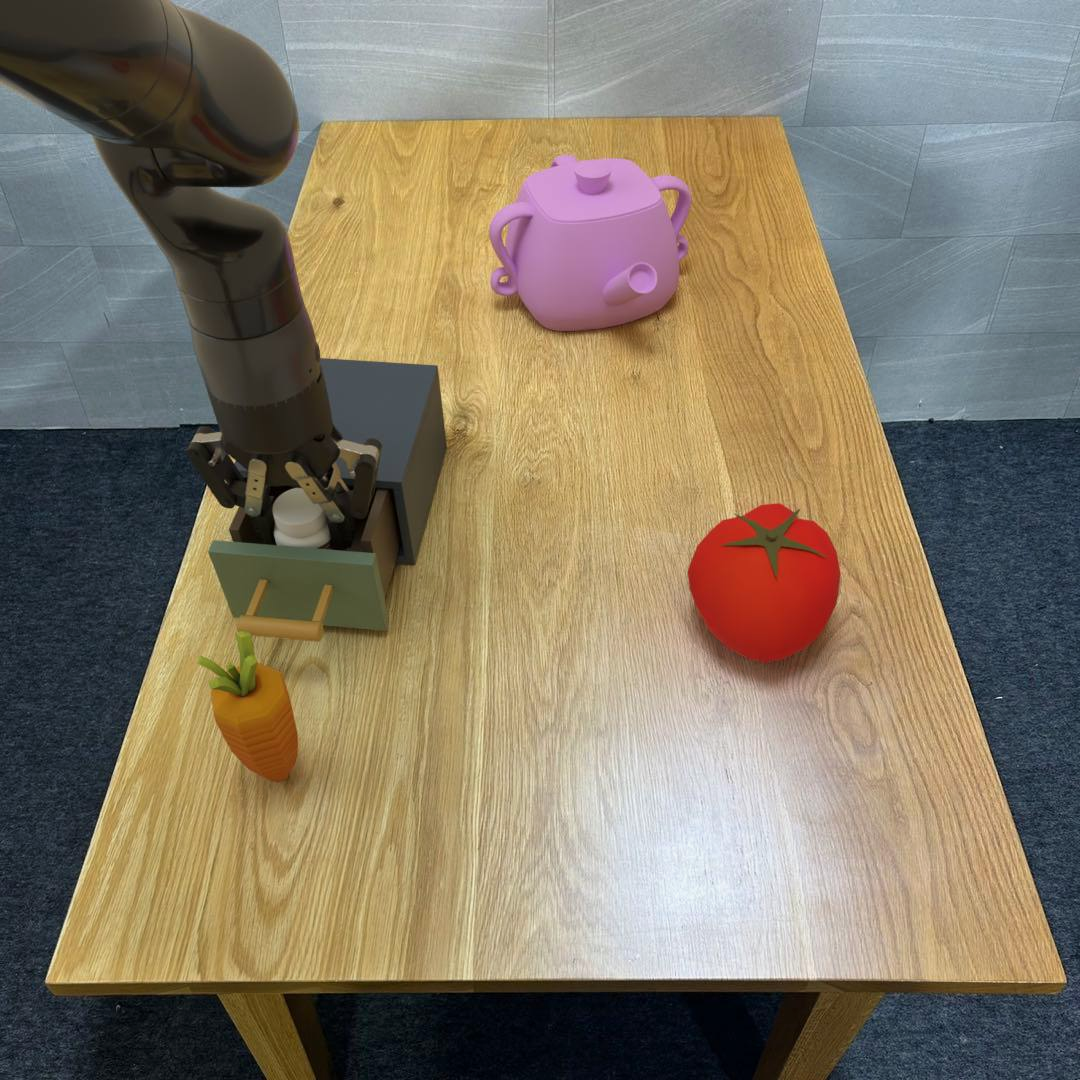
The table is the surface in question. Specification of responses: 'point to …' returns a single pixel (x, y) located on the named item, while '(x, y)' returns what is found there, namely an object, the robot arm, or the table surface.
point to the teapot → (591, 243)
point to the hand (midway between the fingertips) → (309, 542)
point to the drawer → (309, 576)
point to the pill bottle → (300, 521)
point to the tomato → (765, 582)
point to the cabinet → (392, 433)
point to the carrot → (254, 713)
